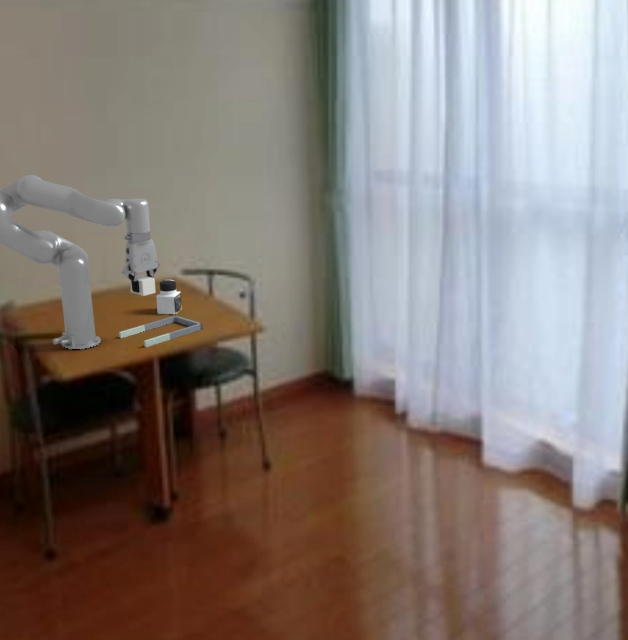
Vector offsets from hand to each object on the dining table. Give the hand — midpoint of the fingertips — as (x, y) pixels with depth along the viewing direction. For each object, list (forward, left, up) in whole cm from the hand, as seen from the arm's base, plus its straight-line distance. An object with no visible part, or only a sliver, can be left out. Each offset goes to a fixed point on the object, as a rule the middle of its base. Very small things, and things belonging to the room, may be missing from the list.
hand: (142, 289), depth 283 cm
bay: (+7, 0, -17) cm, 19 cm away
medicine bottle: (+24, +18, -17) cm, 35 cm away
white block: (0, 0, -1) cm, 1 cm away
